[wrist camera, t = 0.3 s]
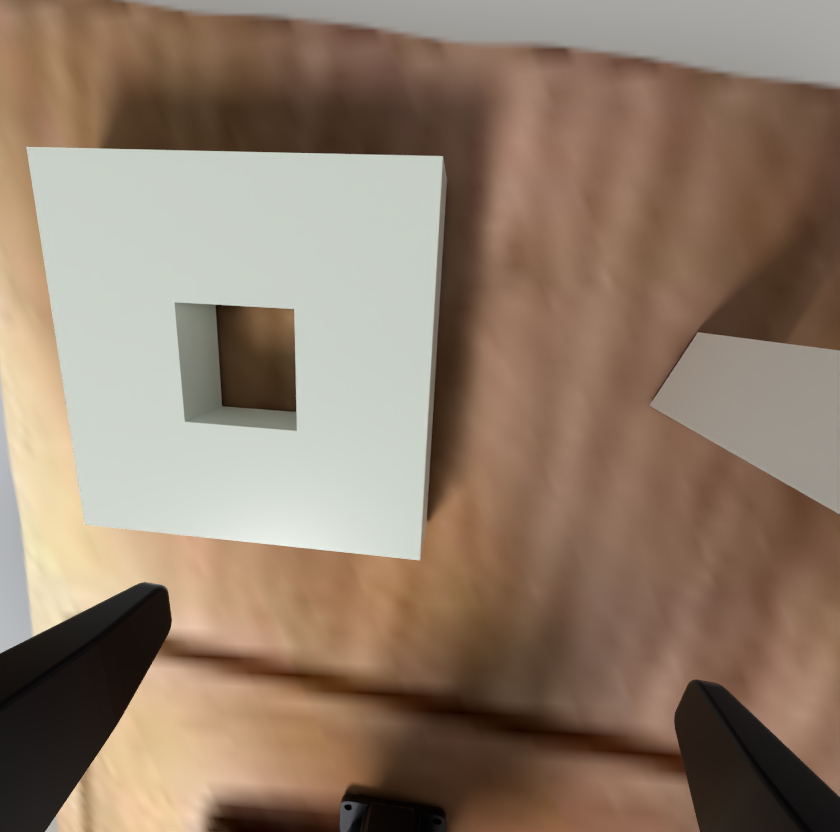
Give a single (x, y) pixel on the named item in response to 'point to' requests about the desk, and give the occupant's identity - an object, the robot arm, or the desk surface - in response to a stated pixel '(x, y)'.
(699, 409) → the plug
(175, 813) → the desk surface
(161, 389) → the socket
